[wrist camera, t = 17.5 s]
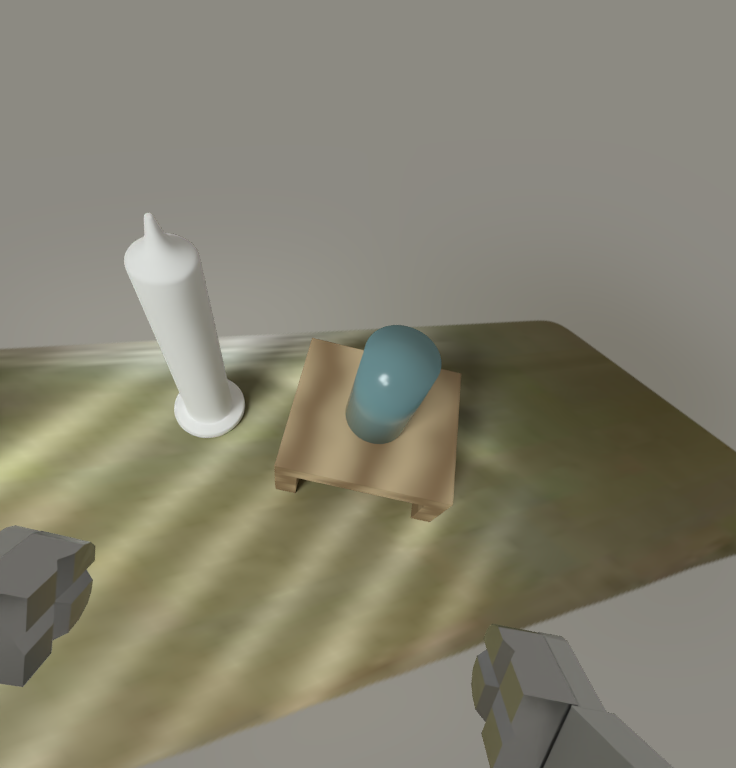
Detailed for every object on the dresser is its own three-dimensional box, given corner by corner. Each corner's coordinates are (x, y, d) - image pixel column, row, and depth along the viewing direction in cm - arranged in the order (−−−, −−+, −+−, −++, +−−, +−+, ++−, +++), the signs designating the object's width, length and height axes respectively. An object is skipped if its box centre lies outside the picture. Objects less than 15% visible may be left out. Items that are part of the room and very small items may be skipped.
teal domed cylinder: (338, 434, 39) (357, 379, 31) (352, 380, 42) (372, 316, 34) (402, 451, 40) (437, 400, 31) (410, 396, 43) (445, 337, 34)
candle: (229, 369, 49) (186, 165, 27) (256, 420, 46) (232, 239, 25) (165, 394, 46) (62, 188, 24) (190, 449, 43) (100, 274, 22)
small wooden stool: (275, 488, 43) (274, 465, 37) (308, 372, 50) (312, 337, 44) (429, 522, 44) (453, 504, 38) (440, 403, 51) (461, 373, 45)
